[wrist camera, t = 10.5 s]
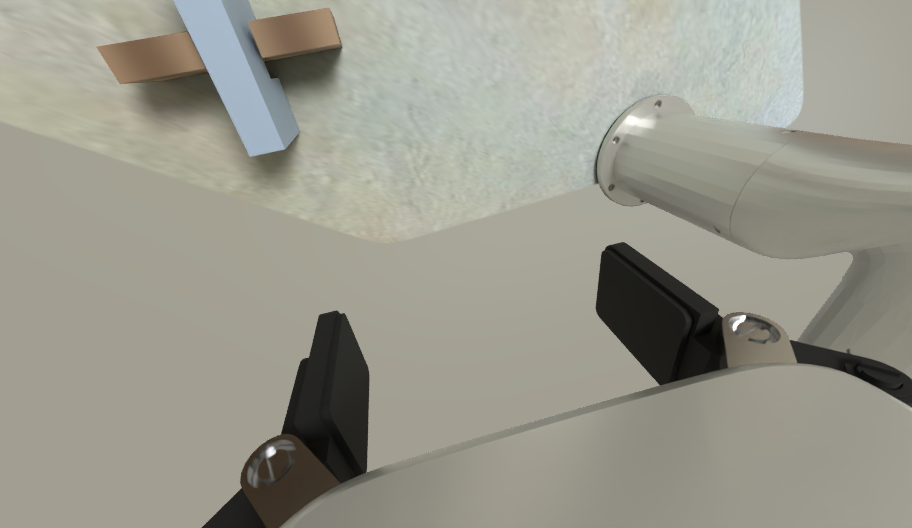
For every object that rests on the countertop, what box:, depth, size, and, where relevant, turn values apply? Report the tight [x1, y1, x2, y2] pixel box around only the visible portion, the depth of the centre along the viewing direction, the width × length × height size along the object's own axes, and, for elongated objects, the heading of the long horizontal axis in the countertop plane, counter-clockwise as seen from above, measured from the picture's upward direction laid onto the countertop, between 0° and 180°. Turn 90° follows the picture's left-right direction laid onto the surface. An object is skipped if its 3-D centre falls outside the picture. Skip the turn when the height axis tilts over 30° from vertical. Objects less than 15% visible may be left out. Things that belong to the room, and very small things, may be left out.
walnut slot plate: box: [97, 8, 342, 84], centre depth 24 cm, size 14×2×6 cm, turn 99°
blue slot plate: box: [173, 0, 300, 157], centre depth 23 cm, size 12×2×8 cm, turn 9°
